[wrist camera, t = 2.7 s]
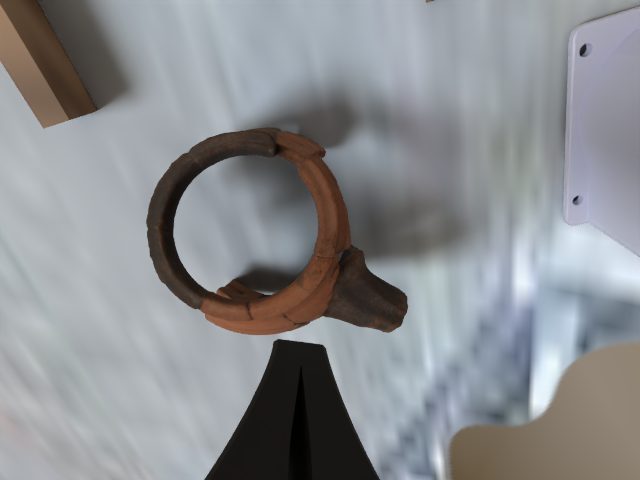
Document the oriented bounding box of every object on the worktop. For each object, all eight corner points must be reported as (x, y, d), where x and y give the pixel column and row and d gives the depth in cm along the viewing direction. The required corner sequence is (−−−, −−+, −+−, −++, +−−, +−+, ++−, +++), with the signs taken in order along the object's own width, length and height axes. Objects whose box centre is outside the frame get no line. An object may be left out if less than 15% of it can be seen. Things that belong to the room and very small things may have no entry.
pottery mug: (181, 280, 22) (85, 298, 14) (241, 133, 22) (180, 64, 14) (369, 361, 21) (386, 431, 13) (432, 208, 21) (487, 181, 13)
